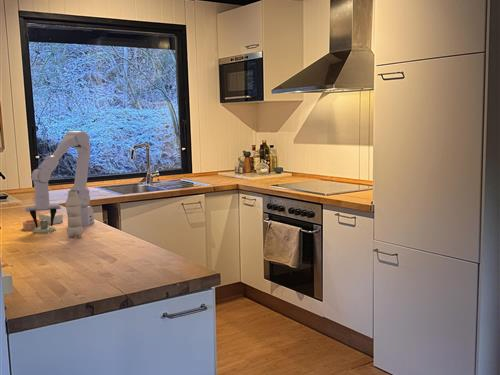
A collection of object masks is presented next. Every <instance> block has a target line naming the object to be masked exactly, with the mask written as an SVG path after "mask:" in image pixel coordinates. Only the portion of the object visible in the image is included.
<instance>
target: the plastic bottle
mask: <svg viewBox="0 0 500 375" xmlns="http://www.w3.org/2000/svg"><path fill="white" fill-rule="evenodd" d="M68 196H69V197H68ZM64 205H65V209H66V214H67V229H66V230H67V231H66V234H67V236H68V237H69V238H75V237H76V238H79V236H80V237H81V236H83V234H84V228H83V225H82V224H81V216H80V215H81V201H80V199H79V198H78V197H77V190H68V191H67V199H66V200H65V204H64Z"/></svg>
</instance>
